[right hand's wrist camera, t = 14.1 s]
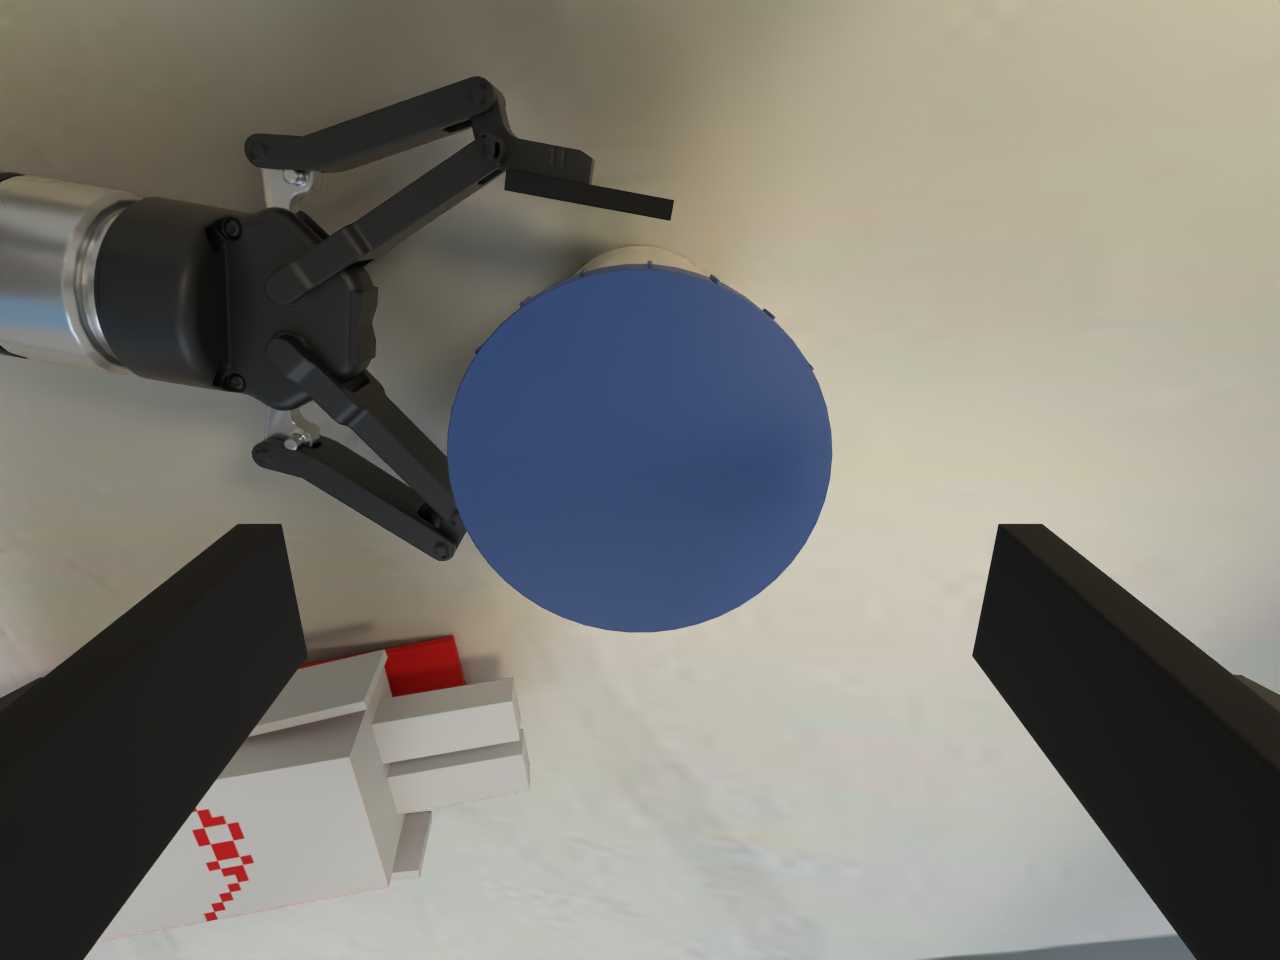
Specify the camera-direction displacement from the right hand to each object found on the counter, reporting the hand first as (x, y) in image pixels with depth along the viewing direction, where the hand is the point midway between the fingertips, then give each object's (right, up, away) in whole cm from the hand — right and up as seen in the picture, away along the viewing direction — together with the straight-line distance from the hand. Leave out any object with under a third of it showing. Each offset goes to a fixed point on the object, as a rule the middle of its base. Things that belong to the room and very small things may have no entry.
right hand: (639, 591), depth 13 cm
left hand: (0, +7, +18) cm, 20 cm away
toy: (-22, -12, +32) cm, 41 cm away
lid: (0, +2, +6) cm, 7 cm away
